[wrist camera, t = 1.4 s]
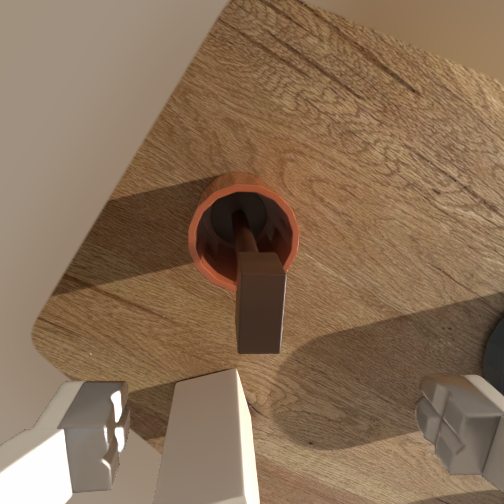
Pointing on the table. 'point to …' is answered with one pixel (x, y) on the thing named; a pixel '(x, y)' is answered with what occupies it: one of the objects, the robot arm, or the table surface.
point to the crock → (224, 254)
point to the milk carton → (208, 444)
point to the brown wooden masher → (252, 273)
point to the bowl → (495, 358)
